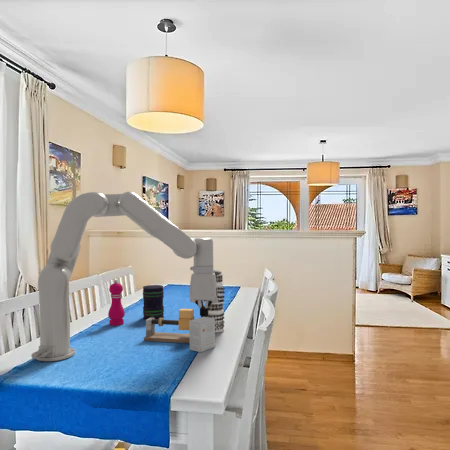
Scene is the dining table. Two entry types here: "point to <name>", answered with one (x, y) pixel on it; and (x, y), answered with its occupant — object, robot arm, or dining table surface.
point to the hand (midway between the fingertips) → (204, 317)
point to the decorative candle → (218, 304)
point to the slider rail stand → (164, 337)
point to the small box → (202, 334)
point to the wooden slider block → (185, 318)
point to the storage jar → (153, 301)
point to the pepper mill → (116, 305)
